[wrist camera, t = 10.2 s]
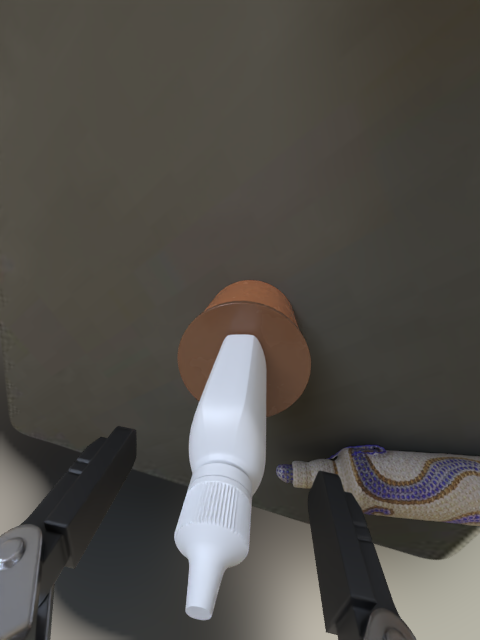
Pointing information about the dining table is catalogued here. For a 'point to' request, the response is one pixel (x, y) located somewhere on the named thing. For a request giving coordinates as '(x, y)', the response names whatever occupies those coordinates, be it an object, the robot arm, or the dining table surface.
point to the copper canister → (251, 319)
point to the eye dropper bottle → (223, 470)
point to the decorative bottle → (400, 482)
